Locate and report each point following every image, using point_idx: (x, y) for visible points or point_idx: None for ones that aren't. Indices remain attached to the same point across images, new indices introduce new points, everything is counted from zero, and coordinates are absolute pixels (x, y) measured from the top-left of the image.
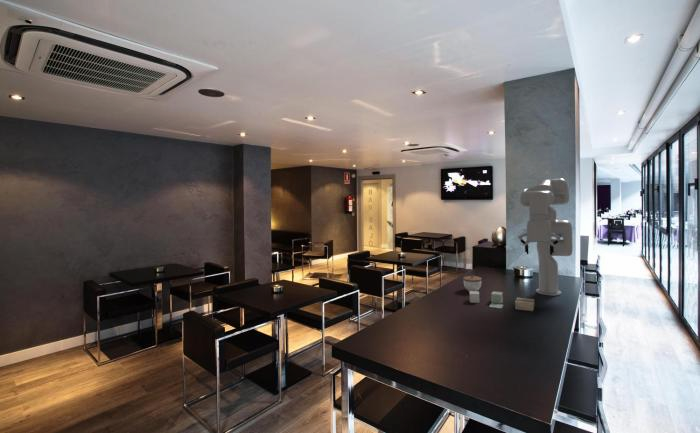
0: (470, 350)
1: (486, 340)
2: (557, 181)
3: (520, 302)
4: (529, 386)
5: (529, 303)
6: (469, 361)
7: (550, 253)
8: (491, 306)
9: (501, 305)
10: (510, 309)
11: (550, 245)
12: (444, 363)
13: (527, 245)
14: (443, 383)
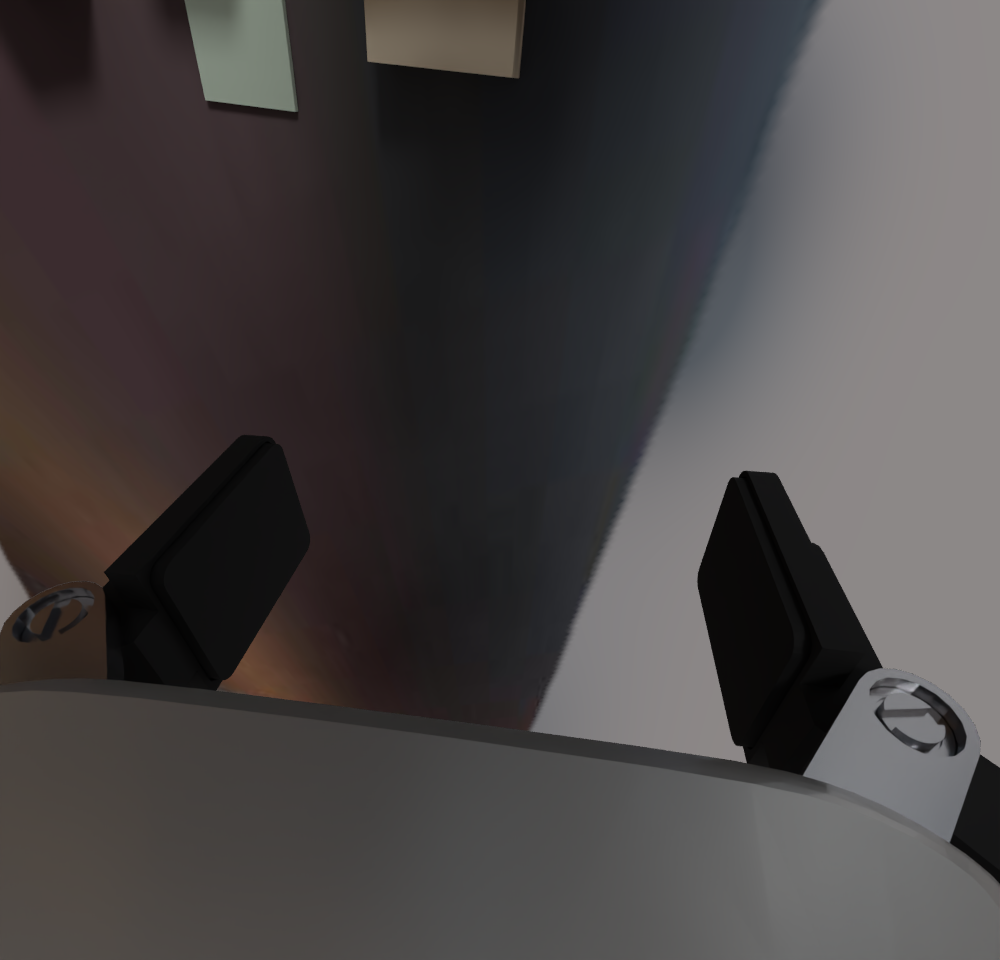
0: (340, 616)
1: (360, 558)
2: None
3: (411, 65)
4: (493, 708)
5: (484, 73)
6: (358, 657)
7: (703, 600)
8: (219, 92)
9: (273, 21)
10: (358, 98)
11: (783, 727)
12: (313, 670)
13: (186, 671)
14: None
